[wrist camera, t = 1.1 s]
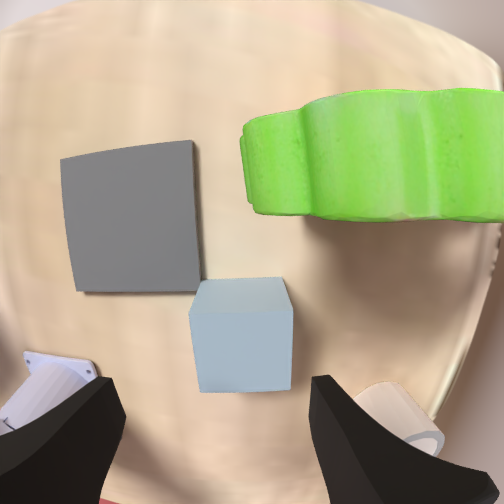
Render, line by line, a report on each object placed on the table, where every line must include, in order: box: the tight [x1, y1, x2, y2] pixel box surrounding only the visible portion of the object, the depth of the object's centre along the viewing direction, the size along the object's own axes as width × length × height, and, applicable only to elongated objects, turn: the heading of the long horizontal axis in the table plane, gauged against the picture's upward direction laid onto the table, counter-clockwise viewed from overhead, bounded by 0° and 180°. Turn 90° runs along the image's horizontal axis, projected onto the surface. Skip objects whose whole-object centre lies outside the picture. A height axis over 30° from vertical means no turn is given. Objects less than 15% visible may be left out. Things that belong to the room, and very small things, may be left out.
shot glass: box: [353, 381, 445, 457], centre depth 19 cm, size 7×7×7 cm
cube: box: [189, 277, 293, 393], centre depth 17 cm, size 5×5×5 cm
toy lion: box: [240, 88, 504, 223], centre depth 10 cm, size 16×5×15 cm, turn 98°
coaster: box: [60, 140, 202, 292], centre depth 18 cm, size 9×9×1 cm
